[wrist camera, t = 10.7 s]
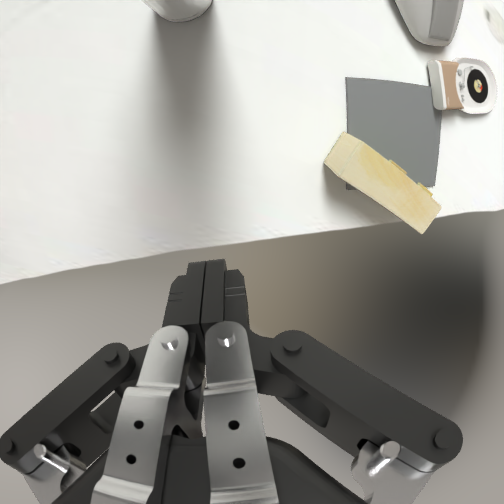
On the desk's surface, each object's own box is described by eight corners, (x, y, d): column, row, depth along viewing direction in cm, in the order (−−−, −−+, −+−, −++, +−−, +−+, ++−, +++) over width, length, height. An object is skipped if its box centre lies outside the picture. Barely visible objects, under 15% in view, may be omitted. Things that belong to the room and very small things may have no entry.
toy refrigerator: (345, 126, 43) (422, 188, 50) (322, 162, 47) (402, 216, 53) (364, 135, 37) (445, 204, 43) (337, 176, 40) (422, 236, 46)
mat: (345, 77, 39) (346, 77, 38) (439, 88, 39) (441, 88, 38) (346, 188, 50) (347, 189, 49) (433, 184, 50) (434, 185, 49)
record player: (436, 54, 32) (498, 62, 32) (425, 54, 35) (488, 61, 34) (444, 117, 39) (503, 114, 38) (434, 114, 41) (493, 111, 40)
